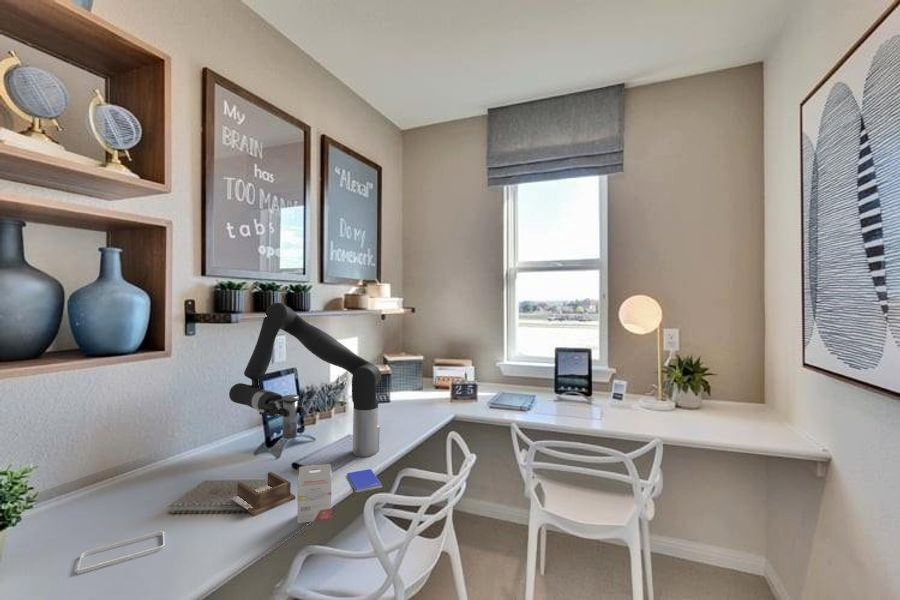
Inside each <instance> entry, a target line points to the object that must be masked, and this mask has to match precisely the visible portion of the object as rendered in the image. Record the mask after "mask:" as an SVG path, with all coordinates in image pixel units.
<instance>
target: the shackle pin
mask: <svg viewBox="0 0 900 600" xmlns="http://www.w3.org/2000/svg"><path fill="white" fill-rule="evenodd" d="M298 400H299V401H300V395H299V394H284V395H282V401H283V408H285V409H287V410H289V416H288V417H284V416H282V434H281V435H282V438H283V439H285V440H286V439H288V440H290V439H294V438H296V437H298V413H297V410H298Z"/></svg>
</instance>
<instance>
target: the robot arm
mask: <svg viewBox="0 0 900 600" xmlns="http://www.w3.org/2000/svg"><path fill="white" fill-rule="evenodd" d="M265 314H266V315H267V317H265V318H264V317H263V320H262V324H261V328H260V331H259V335H258V338H257V341H256V344H255V347H254V349H253V351H252V354H251V356H250V359H249V360H248V363H247V365H246V367H245V370H244V372H243V374H244V376H245V377H246V378H248V379H250V380H251V385H250V384H246V383H242V382H238V383H236V384H234V385H232V387H231V388H229V392H228V396H229V397H228V398H229V399H230V400H231V402H232V403H236V404H240V405H243V406H246V407H247V406H248V407H249V408H252V409H253V410H256V411H258V414H259V415H263V416H268V417H275V416H282V417H283V416H284V417H288V416H289V410H287V409H285V408H283V401H282V396H283V395H281V394H280V393H277V392H275V391H271V390H266V389H263V388H262V389H259V385H258V378H259V377H260V376H263V375H264V376H265V375H266V373H267V370H268V368H269V366H270V363H271V361H272V356H273V350H274V345H275V341H276V338H277V335H278V333H279V331H280V330H282V331H284V332H285V333H287V334H289V335H291V336H293V337H294V338H296V340H298V341H299V342H300V343H301V344H302V345H303V347H304V348H306V349H307V351H309V352H310V353H312V354H313V355H314V356H316V357H317V358H319V359H320V360H322V361H324V362H325V363H328V364H329V365H333V366H336V367H338V368H341V369H343V370H345V371H347V372H349V373H350V374H351V375H352V376H351V400H352V403H353V412H352V420H353V421H352V452H353V453H352V454H353V456H356V457H360V458H362V457H370V456H371V457H372V456H374V455H375V454H377V453H378V451H380V429H381V427H380V425H378V424H379V399H378V398H377V394H376V393H377V392H376V391H377V386H378V384H379V383H380V381H381V380H382V372H381V370H380V368H379V367H378V366H377V365H376V364H374V363H372V362H370V361H368V360H367V359H364V358H363V357H361V356H359V355H358V354H357V353H354V352H353V351H352V350H351V349H349V348H348V347H347V346H345V345H344V344H342V343H341V342H340V341H338V340H337V339H336V338H334V337H333V336H332V335H330V334H329V333H327V332H326V331H323V330H321V329H320V328H318V327H316V326H314V325H312V324H310V323H309V322H308V321H306V320H304V319H303V318H302V317H301V316H300V315H298V314H297V313H296V312H295V311H294V310H293V309H292V308H291V307H289V306H287V304H284V303H282V302H274V303H271V304H270V305H269V306H268V307H267V309H266V311H265V312H264V315H265ZM302 403H303V402H302V401H301V400H300V399H299V400H298V410H297V414H303V413H304V407H303V406H302Z"/></svg>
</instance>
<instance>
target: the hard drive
mask: <svg viewBox="0 0 900 600" xmlns="http://www.w3.org/2000/svg"><path fill="white" fill-rule="evenodd" d="M346 477H347V478H348V480H349V483H350V484H351V487H352V488H353V489H354V491H355V493H361V492H366V491H371V490H376V489H377V490H378V489H381V488H383V484H382V483H381V481H380V479H378V477H377V475H376V474H375V473H374V472H373V469H371V468H368V469H364V470H358V471H352V472H347V474H346Z"/></svg>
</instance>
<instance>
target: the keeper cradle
mask: <svg viewBox="0 0 900 600" xmlns="http://www.w3.org/2000/svg"><path fill="white" fill-rule="evenodd" d="M267 484H268V486H270V487H272V488H270V489H267V490H265V491H262V492H259V493H258V492H256V491H255V490H253V488H251V487H250V486H248V485H246V484H245V483H243V482H242V481H240V482H237V485H236V486H237V488H236V489H237V492H236V496H239V497H240V498H242V499H243V500H244V501H246V502H247V503H248V504H250V505H251V506H252V507H253V508H248V510H249V511H247V512H249V514H251V515H252V516H254V517H255V516H257V515H259V514H262V513H265V512H267V511H269V510H272V509H274V508H277V507H279V506H281V505H284V504H287V503H288V502H290V501H291V502H292V501H293V500H295V499H296V495H294V494H293V493H291V490H292V489H291V487H292V486H291V485H292V484H291V481H289V480H287V479H285V478H283V477H282V476H281V475H278V474H276V473H274V472H272V471H269V472H267Z"/></svg>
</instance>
